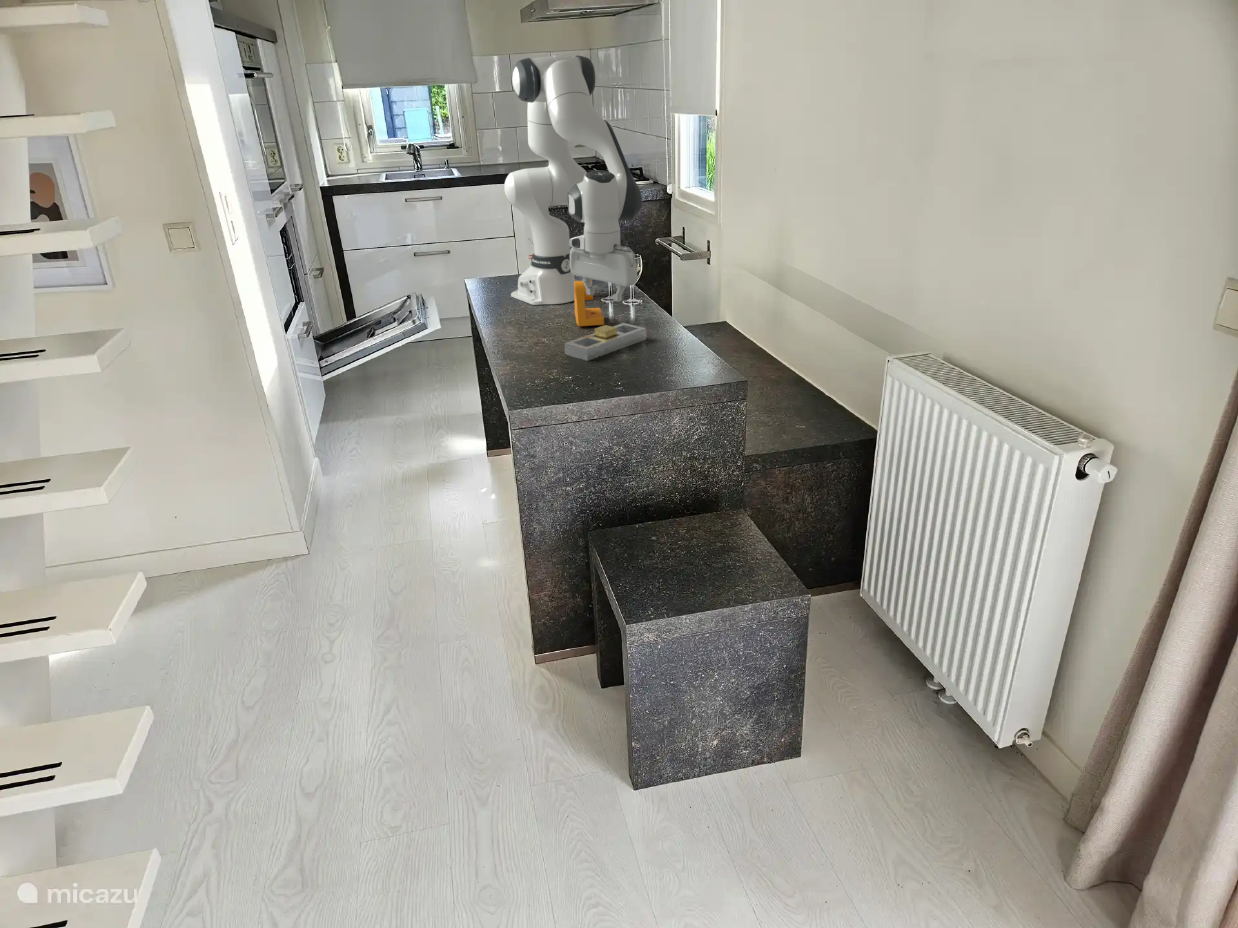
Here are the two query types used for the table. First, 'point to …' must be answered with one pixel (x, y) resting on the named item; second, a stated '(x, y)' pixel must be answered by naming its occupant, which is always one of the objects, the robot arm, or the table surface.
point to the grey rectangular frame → (604, 342)
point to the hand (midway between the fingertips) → (604, 297)
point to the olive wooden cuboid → (605, 332)
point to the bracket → (584, 315)
